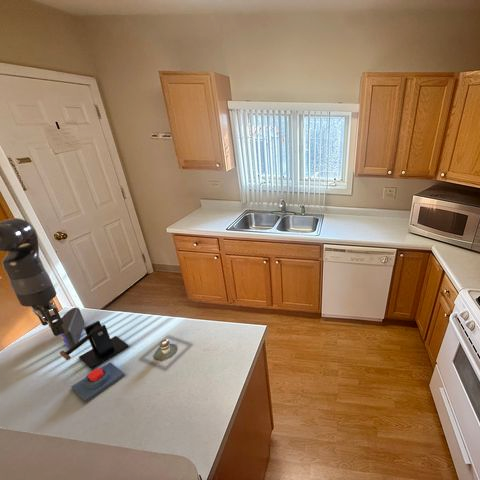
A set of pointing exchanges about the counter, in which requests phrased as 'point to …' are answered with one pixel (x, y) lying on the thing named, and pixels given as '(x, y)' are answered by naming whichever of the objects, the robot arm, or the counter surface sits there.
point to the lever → (66, 354)
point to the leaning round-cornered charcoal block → (72, 326)
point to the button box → (97, 382)
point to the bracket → (101, 346)
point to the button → (96, 374)
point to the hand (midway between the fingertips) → (53, 328)
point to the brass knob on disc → (165, 350)
